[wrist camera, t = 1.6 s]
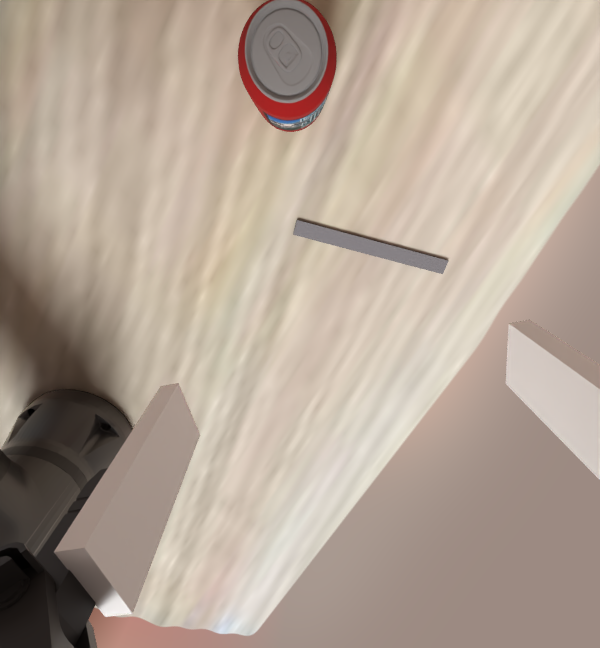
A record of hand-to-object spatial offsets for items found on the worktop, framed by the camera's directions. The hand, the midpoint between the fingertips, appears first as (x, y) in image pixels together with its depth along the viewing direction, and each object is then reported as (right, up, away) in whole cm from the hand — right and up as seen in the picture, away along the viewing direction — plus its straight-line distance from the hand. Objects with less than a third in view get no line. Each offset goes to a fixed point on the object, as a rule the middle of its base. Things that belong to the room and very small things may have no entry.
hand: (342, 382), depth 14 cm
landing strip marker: (+7, +11, +25) cm, 28 cm away
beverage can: (-3, +25, +19) cm, 31 cm away
